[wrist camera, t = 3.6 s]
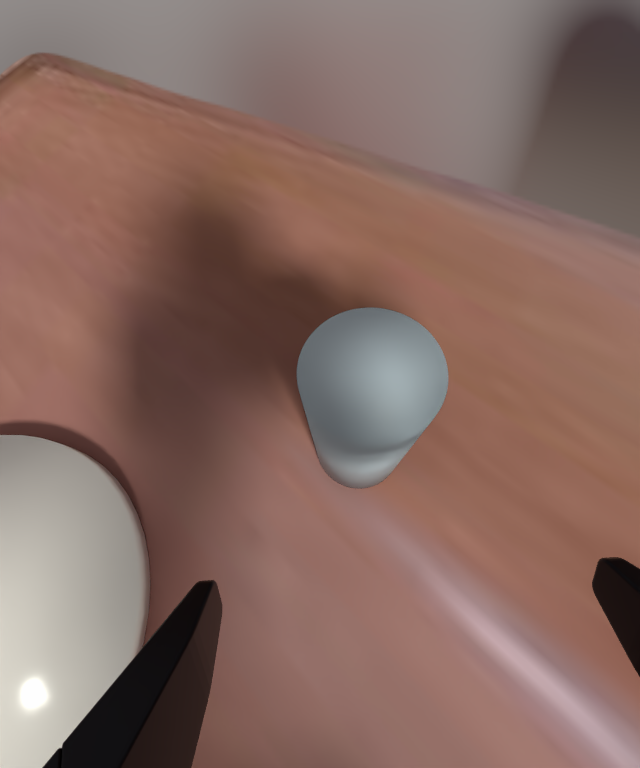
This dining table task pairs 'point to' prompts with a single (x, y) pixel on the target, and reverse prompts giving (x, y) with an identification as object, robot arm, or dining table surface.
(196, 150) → the dining table surface
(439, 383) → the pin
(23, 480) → the plate
